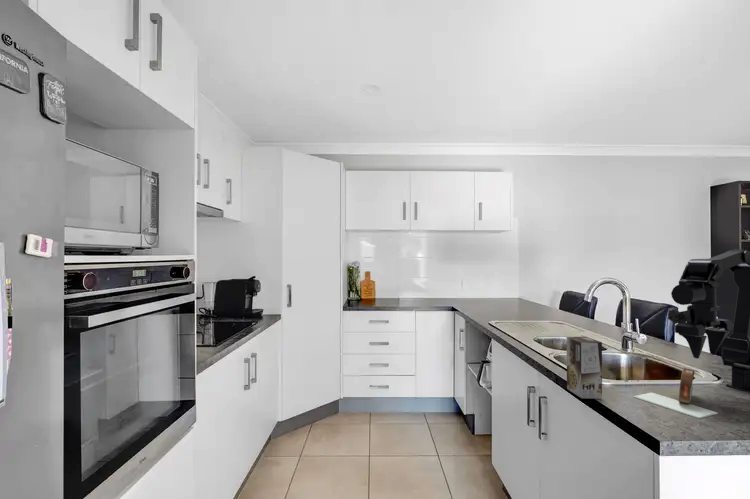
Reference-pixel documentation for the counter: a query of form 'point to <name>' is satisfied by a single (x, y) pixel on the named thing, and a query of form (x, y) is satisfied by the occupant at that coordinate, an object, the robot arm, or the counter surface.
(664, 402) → the mat
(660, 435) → the counter surface
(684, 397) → the tin
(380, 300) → the counter surface
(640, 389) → the counter surface
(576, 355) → the coffee box
